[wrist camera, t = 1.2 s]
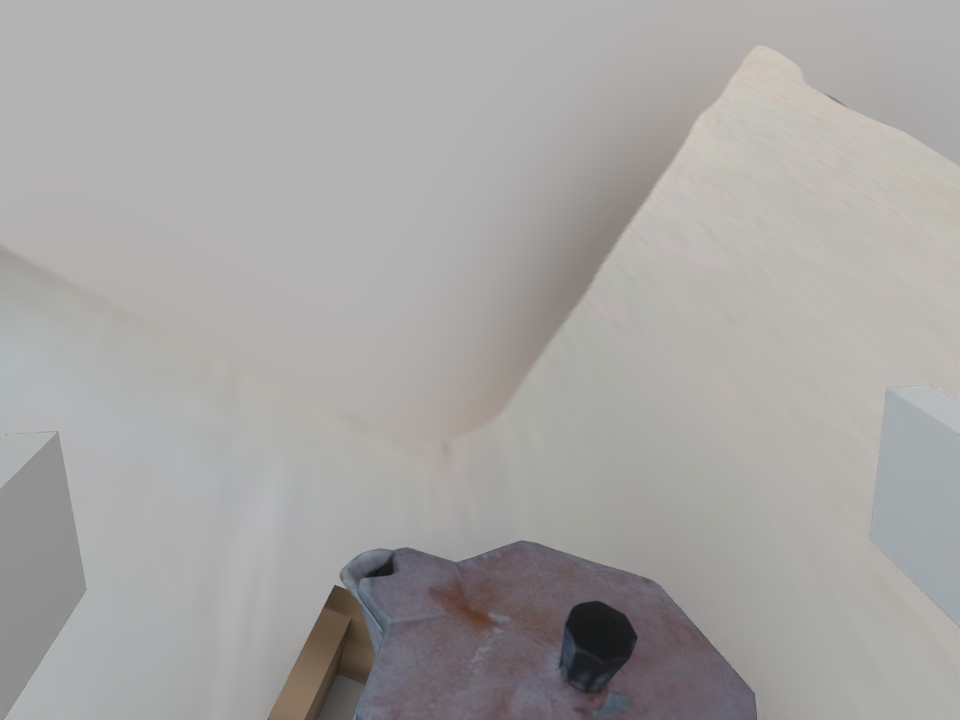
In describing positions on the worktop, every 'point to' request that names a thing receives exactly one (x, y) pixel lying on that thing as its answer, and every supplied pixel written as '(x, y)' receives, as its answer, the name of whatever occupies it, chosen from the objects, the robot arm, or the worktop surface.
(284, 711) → the frame
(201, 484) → the worktop surface
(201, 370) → the worktop surface
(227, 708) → the worktop surface
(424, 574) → the moka pot
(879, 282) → the worktop surface
